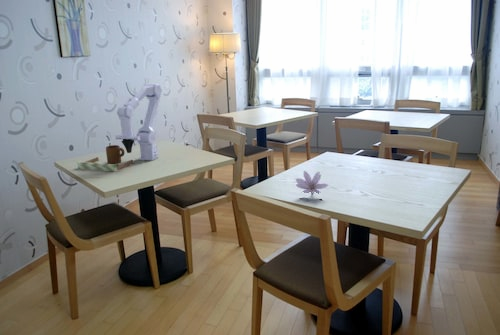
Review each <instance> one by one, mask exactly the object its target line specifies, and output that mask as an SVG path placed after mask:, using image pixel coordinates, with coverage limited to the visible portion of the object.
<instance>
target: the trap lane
mask: <svg viewBox="0 0 500 335" xmlns="http://www.w3.org/2000/svg"><path fill="white" fill-rule="evenodd" d="M99 160H100V158H99V157H98V156H96V157H95V158H92V159H89V160H87V161H77V163H76V164H77V169H80V170H81V169H83V170H94V171H105V172H118V171H120V170H122V169H125V168H126V167H129V166H130V165H133V164H134V160H133V159H130V160H128V161H126V162H124V163H122V164H109V163H101V162H99ZM98 162H99V163H98Z"/></svg>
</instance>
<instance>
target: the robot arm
mask: <svg viewBox="0 0 500 335" xmlns="http://www.w3.org/2000/svg"><path fill="white" fill-rule="evenodd" d="M162 91H163V90H162V87H161V85H160V84H159V83H147V82H146V83H143V84H142V85H141V86H140V89H139V91H138V93H136V95H135V96H134V97H129V98H128V100H127V101H126V102H125V103H124V104H123V105H120V106H119V107H118V109H117V110H116V114H117V116H118V118H119V120H120V128H121V134H119V135H115V137H114V138H115V140H121V143H122V145H123V146H124V149H125V151H126V153H127V154H130V153H132V149H133V145H134V143H135V141H137V143H138V145H139V149H140V157H139V158H137V160H140V161H141V160H142V161H154V160H156V159H159V158H160V156H159V153H158V146H157V144H154V142H155V141H156V131H155V130H154V125H155V124H154V123H155V119H156V116H157V113H158V110H159V109H158V107H159V103H160V99H161V95H162ZM144 98H146V99H147V100H148V101H149V103H148V106H147V109H146V114H145V118H144V122H143V126H141V127H140V128H139V129H138V131H137V132H136V135H133V132H134V131H133V124H132V116H134V112H135V110H136V109H137V108H138V107H139V106H140V102H141V101H143V99H144Z"/></svg>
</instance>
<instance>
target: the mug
mask: <svg viewBox="0 0 500 335" xmlns="http://www.w3.org/2000/svg"><path fill="white" fill-rule="evenodd" d="M105 152H106V160H107V164H115V165H119V164H120V163H121V162H122V157H124V155H125V148H122V147H120V145H117V144H115V145H113V144H112V145H107V146H106V147H105Z"/></svg>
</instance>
